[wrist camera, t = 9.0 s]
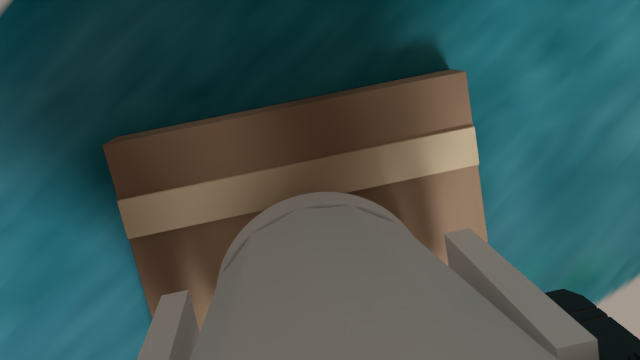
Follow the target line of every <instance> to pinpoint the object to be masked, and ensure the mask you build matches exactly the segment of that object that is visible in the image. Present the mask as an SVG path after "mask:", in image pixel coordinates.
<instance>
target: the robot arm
mask: <svg viewBox="0 0 640 360" xmlns="http://www.w3.org/2000/svg"><path fill="white" fill-rule="evenodd" d="M444 237H445V244H446V251H447V258H448V264H449V267H450V268H451V269H452V270H453V271H454V272H456V273H457V274H458V275H459V276H460V277H461V278H463V279H464V280H465V281H466V282H467V283H468V284H470V285H471V286H472V287H473V288H474V289H475V290H476V291H478V292H479V293H480V294H481V295H482V296H483V297H485V298H486V299H487V300H488V301H489V302H490V303H492V304H493V305H494V306H495V307H496V308H497V309H499V310H500V311H501V312H502V313H503V314H504V315H506V316H507V317H508V318H509V319H510V320H511V321H513V322H514V323H515V324H516V325H517V326H518V327H520V328H521V329H522V330H523V331H524V332H525V333H527V334H528V335H529V336H530V337H531V338H532V339H534V340H535V341H536V342H537V343H538V344H539V345H541V346H542V347H543V348H544V349H545V350H547V351H548V352H549V353H551V354H552V355H553V356H555V357H556V358H557V359H559V360H640V340H639V339H638V338H637V337H635V336H634V335H633V334H632V333H630V332H629V331H627V329H625V328H624V327H623V326H621V325H620V324H619V323H617V322H616V321H615V320H613V319H612V318H611V317H608V316H607V314H606V313H605V312H603V311H602V310H601V309H599V308H597V307H596V305H594V304H593V303H592V302H590V301H589V300H588V299H586V298H585V297H584V296H582V295H579V294H576V293H574V292H571V291H568V290H565V289H560V290H556V291H551V292H547V293H543V292H542V291H541V290H540V289H539V288H538V287H537V286H535V285H534V284H533V283H532V282H531V281H530V280H529V279H527V278H526V277H525V276H524V275H523V274H522V273H520V272H519V271H518V270H517V269H516V268H515V267H514V266H512V265H511V264H510V263H509V262H508V261H507V260H506V259H504V258H503V257H502V256H501V255H500V254H499V253H497V252H496V251H495V250H494V249H493V248H492V247H491V246H489V245H488V244H487V243H486V242H485V241H484V240H483V239H481V238H480V237H479V236H478V235H477V234H476V233H474V232H473V231H472V230H471V229H470V228H468V229H463V230H459V231H454V232H450V233H445V234H444ZM199 333H200V331H199V327H198V323H197V319H196V316H195V312H194V308H193V304H192V301H191V297H190V293H189V290H185V291H180V292H176V293H171V294H167V295H162V296H161V299H160V301H159V304H158V306H157V309H156V312H155V314H154V317H153V319H152V322H151V325H150V327H149V330H148V332H147V335H146V337H145V340H144V343H143V345H142V348H141V350H140V353H139V355H138V358H137V360H190V357H191V355H192V352H193V349H194V347H195V344H196V341H197V339H198V336H199Z"/></svg>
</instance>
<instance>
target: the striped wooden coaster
mask: <svg viewBox="0 0 640 360" xmlns="http://www.w3.org/2000/svg"><path fill="white" fill-rule="evenodd" d="M102 146H103V149H104V153H105V156H106V160H107V163H108V167H109V170H110V174H111V177H112V181H113V184H114V188H115V191H116V195H117V198H118V201H117V204H118V207H119V211H120V214H121V217H122V221H123V224H124V228H125V231H126V235H127V238H128V239H129V240H130V244H131V247H132V251H133V254H134V258H135V261H136V265H137V268H138V272H139V275H140V278H141V282H142V285H143V289H144V292H145V296H146V299H147V303H148V306H149V310H150V313H151V317H152V319H153V317H154V314H155V312H156V309H157V306H158V304H159V301H160V299H161V296H162V295H167V294H171V293H176V292H180V291H185V290H189V293H190V297H191V301H192V304H193V308H194V312H195V316H196V319H197V323H198V327H199V331H200V330H201V328H202V325H203V322H204V320H205V317H206V314H207V312H208V309H209V306H210V303H211V301H212V298H213V295H214V293H215V290H216V285H217V280H218V275H219V271H220V267H221V264H222V262H223V259H224V257H225V255H226V253H227V251H228V249H229V247H230V245H231V244H232V242H233V241H234V239H235V238H236V236H237V235H238V234H239V233H240V231H241V230H242V229H243V228H244V227H245V226H246V225H247V224H248V223H249V222H250V221H251V220H252V219H254V218H255V217H256V216H257V215H259V214H260V213H261V212H263V211H264V210H266V209H268V208H269V207H271V206H273V205H275V204H277V203H279V202H281V201H283V200H286V199H289V198H292V197H295V196H299V195H303V194H308V193H315V192H339V193H346V194H351V195H355V196H359V197H362V198H365V199H368V200H370V201H372V202H374V203H376V204H378V205H380V206H382V207H384V208H385V209H387V210H388V211H390V212H391V213H392V214H393V215H395V216H396V217H397V218H398V219H399V220H400V221H401V222H402V223H403V224H404V225H405V226H406V227H407V228H408V230H409V231H410V232H411V233H412V234H413V236H414V237H415V238H416V239H417V240H418V241H419V242H421V243H422V244H423V245H424V246H425V247H426V248H428V249H429V250H430V251H431V252H432V253H433V254H435V255H436V256H437V257H438V258H439V259H440V260H442V261H443V262H444V263H445V264H446V265H447V266H449V264H448V258H447V251H446V244H445V237H444V234H445V233H450V232H454V231H459V230H463V229H468V228H470V229H471V230H472V231H473V232H474V233H476V234H477V235H478V236H479V237H480V238H481V239H483V240H484V241H485V242H486V243H487V244H488V239H487V232H486V224H485V216H484V209H483V201H482V193H481V185H480V178H479V170H478V165H479V157H478V150H477V142H476V134H475V127H474V126H473V123H472V116H471V108H470V100H469V93H468V85H467V77H466V71H460V70H452V69H449V70H444V71H439V72H434V73H429V74H425V75H420V76H415V77H410V78H405V79H400V80H395V81H390V82H385V83H380V84H375V85H370V86H365V87H361V88H356V89H351V90H346V91H341V92H336V93H331V94H326V95H321V96H316V97H311V98H306V99H302V100H297V101H292V102H287V103H282V104H277V105H272V106H267V107H262V108H257V109H252V110H247V111H242V112H238V113H233V114H228V115H223V116H218V117H213V118H208V119H203V120H198V121H193V122H188V123H183V124H178V125H174V126H169V127H164V128H159V129H154V130H149V131H144V132H139V133H134V134H129V135H124V136H119V137H115V138H113V139H112V140H110V141H108V142H107V143H105V144H104V145H102Z"/></svg>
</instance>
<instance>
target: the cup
mask: <svg viewBox="0 0 640 360" xmlns="http://www.w3.org/2000/svg"><path fill="white" fill-rule="evenodd" d="M190 360H559V359H557V358H556V357H555V356H553V355H552V354H551V353H549V352H548V351H547V350H545V349H544V348H543V347H542V346H541V345H539V344H538V343H537V342H536V341H535V340H534V339H532V338H531V337H530V336H529V335H528V334H527V333H525V332H524V331H523V330H522V329H521V328H520V327H518V326H517V325H516V324H515V323H514V322H513V321H511V320H510V319H509V318H508V317H507V316H506V315H504V314H503V313H502V312H501V311H500V310H499V309H497V308H496V307H495V306H494V305H493V304H492V303H490V302H489V301H488V300H487V299H486V298H485V297H483V296H482V295H481V294H480V293H479V292H478V291H476V290H475V289H474V288H473V287H472V286H471V285H470V284H468V283H467V282H466V281H465V280H464V279H463V278H461V277H460V276H459V275H458V274H457V273H456V272H454V271H453V270H452V269H451V268H450V267H449V266H447V265H446V264H445V263H444V262H443V261H442V260H440V259H439V258H438V257H437V256H436V255H435V254H433V253H432V252H431V251H430V250H429V249H428V248H426V247H425V246H424V245H423V244H422V243H421V242H419V241H418V240H417V239H416V238H415V237H414V236H413V234H412V233H411V232H410V231H409V230H408V228H407V227H406V226H405V225H404V224H403V223H402V222H401V221H400V220H399V219H398V218H397V217H396V216H395V215H393V214H392V213H391V212H390V211H388V210H387V209H385V208H384V207H382V206H380V205H378V204H376V203H374V202H372V201H370V200H368V199H365V198H362V197H359V196H355V195H351V194H346V193H339V192H315V193H308V194H303V195H299V196H295V197H292V198H289V199H286V200H283V201H281V202H279V203H277V204H275V205H273V206H271V207H269V208H268V209H266V210H264V211H263V212H261V213H260V214H259V215H257V216H256V217H255V218H254V219H252V220H251V221H250V222H249V223H248V224H247V225H246V226H245V227H244V228H243V229H242V230H241V231H240V233H239V234H238V235H237V236H236V238H235V239H234V241H233V242H232V244H231V245H230V247H229V249H228V251H227V253H226V255H225V257H224V259H223V262H222V264H221V267H220V271H219V275H218V280H217V285H216V290H215V293H214V295H213V298H212V301H211V303H210V306H209V309H208V312H207V314H206V317H205V320H204V322H203V325H202V328H201V330H200V333H199V336H198V339H197V341H196V344H195V347H194V349H193V352H192V355H191V357H190Z"/></svg>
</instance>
